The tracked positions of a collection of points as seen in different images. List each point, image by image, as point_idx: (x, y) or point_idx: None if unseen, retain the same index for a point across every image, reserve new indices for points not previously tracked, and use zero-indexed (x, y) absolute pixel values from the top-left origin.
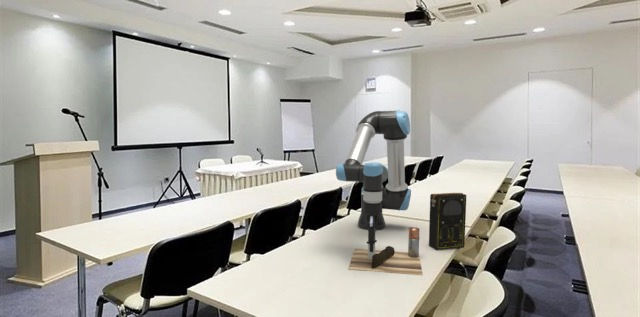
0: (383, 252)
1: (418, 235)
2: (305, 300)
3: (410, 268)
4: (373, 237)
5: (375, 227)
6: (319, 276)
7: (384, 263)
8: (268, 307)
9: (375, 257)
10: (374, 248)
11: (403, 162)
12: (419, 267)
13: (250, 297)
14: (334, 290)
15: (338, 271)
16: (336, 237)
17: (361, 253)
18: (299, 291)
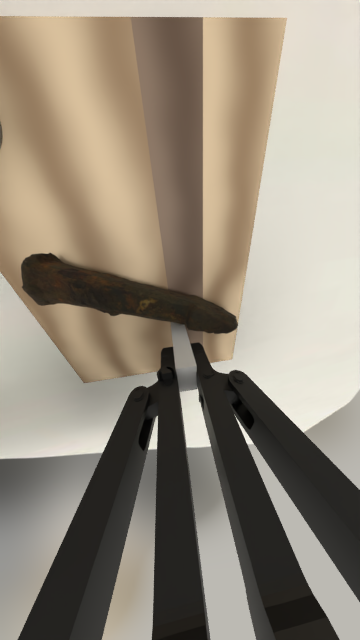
0: (140, 303)
1: None
2: (348, 371)
3: (196, 138)
4: (285, 419)
5: (76, 524)
6: (266, 384)
7: (170, 283)
8: (350, 392)
9: (234, 321)
10: (190, 348)
11: None
12: (165, 43)
13: (318, 411)
14: (328, 351)
15: (243, 369)
16: (26, 430)
17: (112, 361)
18: (317, 385)
